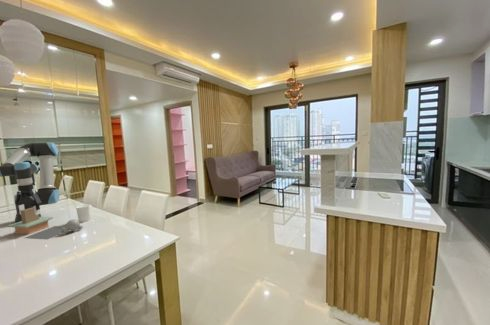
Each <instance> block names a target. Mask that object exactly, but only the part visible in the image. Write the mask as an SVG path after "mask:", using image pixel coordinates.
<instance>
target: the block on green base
mask: <svg viewBox="0 0 490 325" xmlns="http://www.w3.org/2000/svg"><path fill="white" fill-rule="evenodd" d="M20 212H21V217H22V221H21V222H18V223H15V222H14V223H12V224H11V223H10V224H8V225H7V228H15V227H21V228H28V227H30V226H33V225H36V224H39V223H42V222H45V221H48V222H49V221H50V220H53V219H54V218H53V217H52V216H41V217H39V214H38V215H35V211H34V207H32V208H29V209H25V210H21V211H20Z"/></svg>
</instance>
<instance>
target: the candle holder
mask: <svg viewBox="0 0 490 325" xmlns="http://www.w3.org/2000/svg"><path fill="white" fill-rule="evenodd" d="M92 205H93V204H90V203H86V204H80V205H77V206H76V207H75V209H76V213H77V214H76V215H77V220H78V221H79V223H86V222H89V221H92V220H93V207H92Z"/></svg>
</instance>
